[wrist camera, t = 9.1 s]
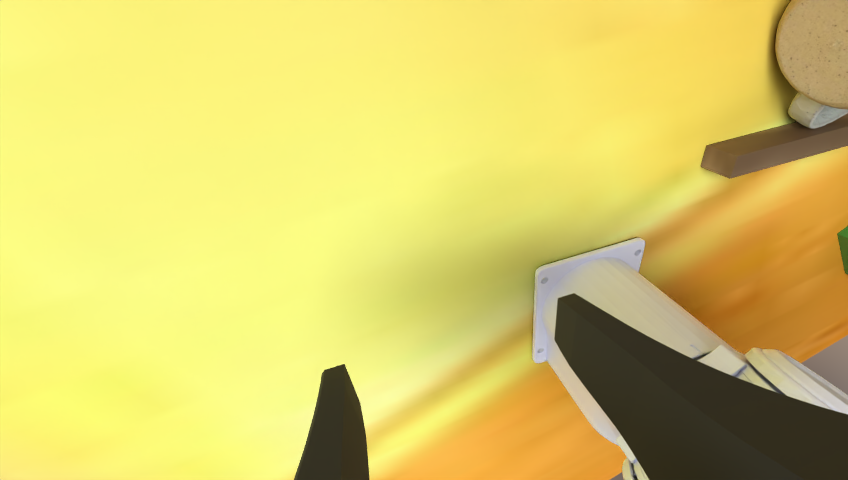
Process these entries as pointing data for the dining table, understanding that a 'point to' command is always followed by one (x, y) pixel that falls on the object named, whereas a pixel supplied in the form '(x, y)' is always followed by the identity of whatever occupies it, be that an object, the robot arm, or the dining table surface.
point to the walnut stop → (774, 147)
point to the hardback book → (844, 247)
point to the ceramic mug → (815, 59)
